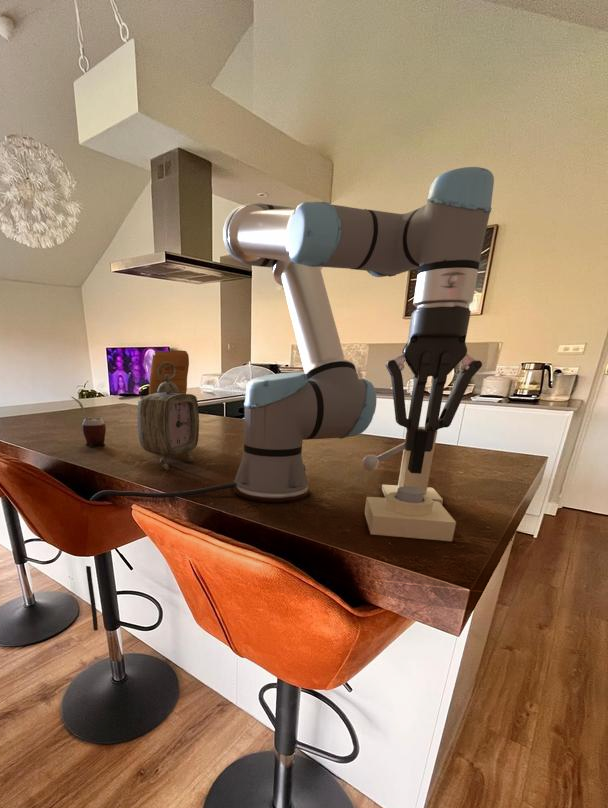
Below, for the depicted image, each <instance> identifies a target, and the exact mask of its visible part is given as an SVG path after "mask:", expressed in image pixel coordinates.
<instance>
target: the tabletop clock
mask: <svg viewBox="0 0 608 808" xmlns="http://www.w3.org/2000/svg"><path fill="white" fill-rule="evenodd" d="M165 365H170V366H172V367H173V369H174V375H173V376H172V377H170V376H169V375H168V374H167V375H165V378H164V377H162V376H161V375H160V369H161V368H162V367H163V366H165ZM158 375H159V377H160V379H162V380H163V381H166V382H164V383H161V384H160V385H159V387H158V390H157V391H158V392H166V393H155V394H150V395H149V394H147V395H145V396H144V397H142V398H141V399H140V400H139V401H138V402H137V409H136V412H137V415H136V416H137V429H138V431H137V432H138V439H139V444H140V446H141V448H142V449H143V450H144V451H145V452H148V453H155V454H160V455H161V456H162V457H161V458H160V460H159V461H160V463H161V464H162V466H161V468H162V470H163V471H168V470H169V469H170V466H169V464H168V463H167V461H168V460H167V455H169V456H179V455H185V456H186V460H187V462H193V460H194V457H193V456H192V455H191V454H190V455H189V452H191V451H193V450H194V449H195V448H196V447H197V446H198V442H199V434H200V416H199V415H200V414H199V411H200V410H199V403H198V398H197V396H196V395H194V394H190V393H186V394H177V393H170V392H178V391H179V390H178V387H177V386H176V385H175V384H174V383H171V382H170V380H172V379H174V378H175V376H176V368H175V366H174V365H173V364H172V363H170V362H164V363H162V364H161V365H160V366H159V368H158Z"/></svg>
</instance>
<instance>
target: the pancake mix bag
mask: <svg viewBox="0 0 608 808" xmlns="http://www.w3.org/2000/svg"><path fill="white" fill-rule="evenodd" d="M164 362H170V363H172V364H173V365H174V366H175V368H176V376H175V378H174V379H172V380H170V382H171V383H174V384H175V385H176V386H177V387H178V390H179V391H178V392H170V393H177V394H187V390H188V374H189V368H190V358H189V353H188V352H187V350H181V349H180V350H179V349H178V350H177V349H176V350H175V349H173V350H155V351H154V354H152V360H151V368H150V376H149V385H148V395H150V394H155V393H166V392H158V391H157V390H158V387H159V385H160V384H161V383H164V382H166V381H163V380H162V379H160V377H159V375H158V368H159V366H160V365H161V364H162V363H164ZM167 374H168V375H169V376H170V377H172V376H173V375H174V369H173V367H172V366H170V365H165V366H163V367H162V368H161V369H160V375H161V376H162V377H164V378H165V375H167Z"/></svg>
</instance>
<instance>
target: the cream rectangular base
mask: <svg viewBox="0 0 608 808" xmlns="http://www.w3.org/2000/svg"><path fill="white" fill-rule="evenodd" d="M396 496H397V492H391V493H389V494H387V495H386V498H385V497H380V496H379V497H378V496H366V499H365V505H364V506H365V507H364V516H365V519H366V520H365V521H366V523H367V527H368V530H369V533H370V535H375V536H386V537H398V538H410V539H422V540H433V541H444V542H453V539H454V534H455V530H456V526H457V521H456V520H455V519H454V517H452V515H451V514H450V513H449V512H448V511H447V509H446V508H445V507H444V506H443V504H442V505H441V503H440V502H436V501H433V500H432V499H431V498H430V497H427V496H425V495H424V497H423V502H419V503H413V502H405V501H401V500H398V499H396Z"/></svg>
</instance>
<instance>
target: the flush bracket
mask: <svg viewBox="0 0 608 808" xmlns="http://www.w3.org/2000/svg"><path fill="white" fill-rule="evenodd" d="M423 428H424V429H425V426H419V427H418V429H423ZM406 433H407V430H406V432H405V434H406ZM437 437H438V430H437V431H436V432H435V437H434V442H433V448H432V450H431V452H425V454H424V460H423V466H422V472H421V474H417V473H411V472H410V471H409V470H408V464H409V458H410V452H411V451H407V450H406V449H404V450H402V456H401V457H402V458H401V463H400V470H399V477H398V483H397V484H382V486H381V491H382V493H383V496H384V498H386V495H387V494H389V493H391V492H397V490H398V488H399V487H415V488H419V489H422V490H424V495H425V496H427V497H430V498H431V499H432V500H433V501H436V502H440V503H441V505H442V506H443V502H444V499H443V497H442V496H441V495H440V494H439V492H437V491H436V489H434V488H433V487H428V485H429V480H430V474H431V469H432V463H433V458H434V453H435V448H436V443H437V442H436V441H437ZM404 438H405V439H404V441H405V440H406V437H404Z"/></svg>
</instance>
